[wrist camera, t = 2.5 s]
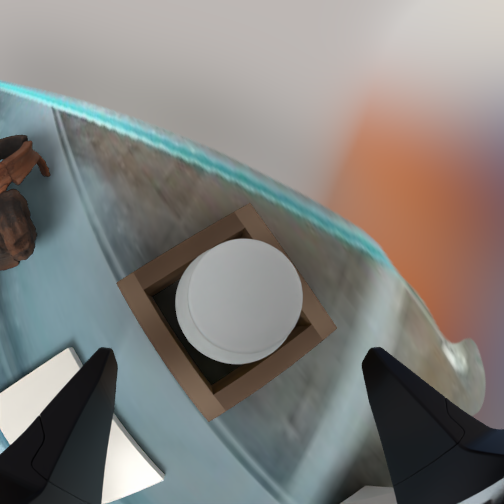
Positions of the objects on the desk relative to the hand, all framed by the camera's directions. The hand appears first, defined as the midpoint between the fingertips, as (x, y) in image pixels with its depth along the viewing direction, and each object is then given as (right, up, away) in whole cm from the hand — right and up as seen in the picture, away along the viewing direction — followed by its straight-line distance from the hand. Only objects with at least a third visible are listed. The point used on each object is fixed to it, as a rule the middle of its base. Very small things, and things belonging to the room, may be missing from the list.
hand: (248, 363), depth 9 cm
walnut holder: (-2, 0, +10) cm, 10 cm away
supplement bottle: (-2, 0, +10) cm, 10 cm away
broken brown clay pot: (-19, +6, +9) cm, 22 cm away
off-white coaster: (-13, -10, +5) cm, 17 cm away
